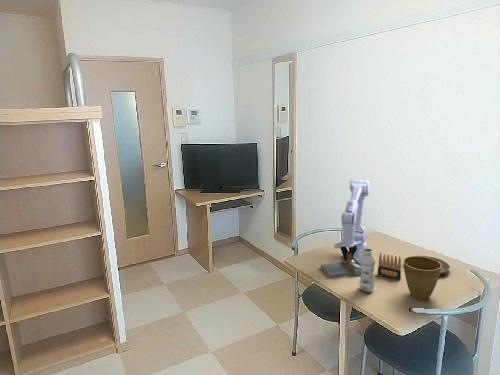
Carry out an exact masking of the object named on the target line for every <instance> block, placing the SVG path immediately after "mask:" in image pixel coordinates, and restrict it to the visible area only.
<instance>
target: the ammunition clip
mask: <svg viewBox="0 0 500 375" xmlns="http://www.w3.org/2000/svg"><path fill="white" fill-rule="evenodd" d="M382 255H383V256H382ZM378 258H379V259H378V265H377V266H378V267H377V274H376V275H377V276H378V277H382V278H388V279H392V280H396V281H401V280H402V259H401V256H399V257H397V255H395V256H393V255H391V257H390V254H387V257H386V254H385V253H384V254H382V252H380V253H379V257H378Z"/></svg>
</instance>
